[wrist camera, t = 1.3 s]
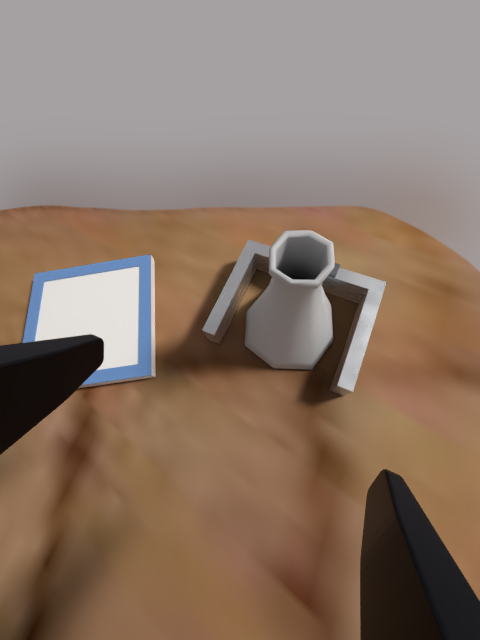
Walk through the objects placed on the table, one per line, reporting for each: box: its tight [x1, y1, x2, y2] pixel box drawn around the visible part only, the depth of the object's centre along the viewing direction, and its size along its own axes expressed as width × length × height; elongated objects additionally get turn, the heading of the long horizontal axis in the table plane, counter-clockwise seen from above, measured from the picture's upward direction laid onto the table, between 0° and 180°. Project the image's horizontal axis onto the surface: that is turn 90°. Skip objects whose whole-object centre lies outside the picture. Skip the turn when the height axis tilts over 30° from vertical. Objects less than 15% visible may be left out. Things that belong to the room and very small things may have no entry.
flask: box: [245, 230, 335, 370], centre depth 18 cm, size 7×7×10 cm
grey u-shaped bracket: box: [202, 240, 386, 396], centre depth 21 cm, size 8×11×3 cm
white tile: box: [23, 255, 156, 388], centre depth 24 cm, size 11×11×1 cm
